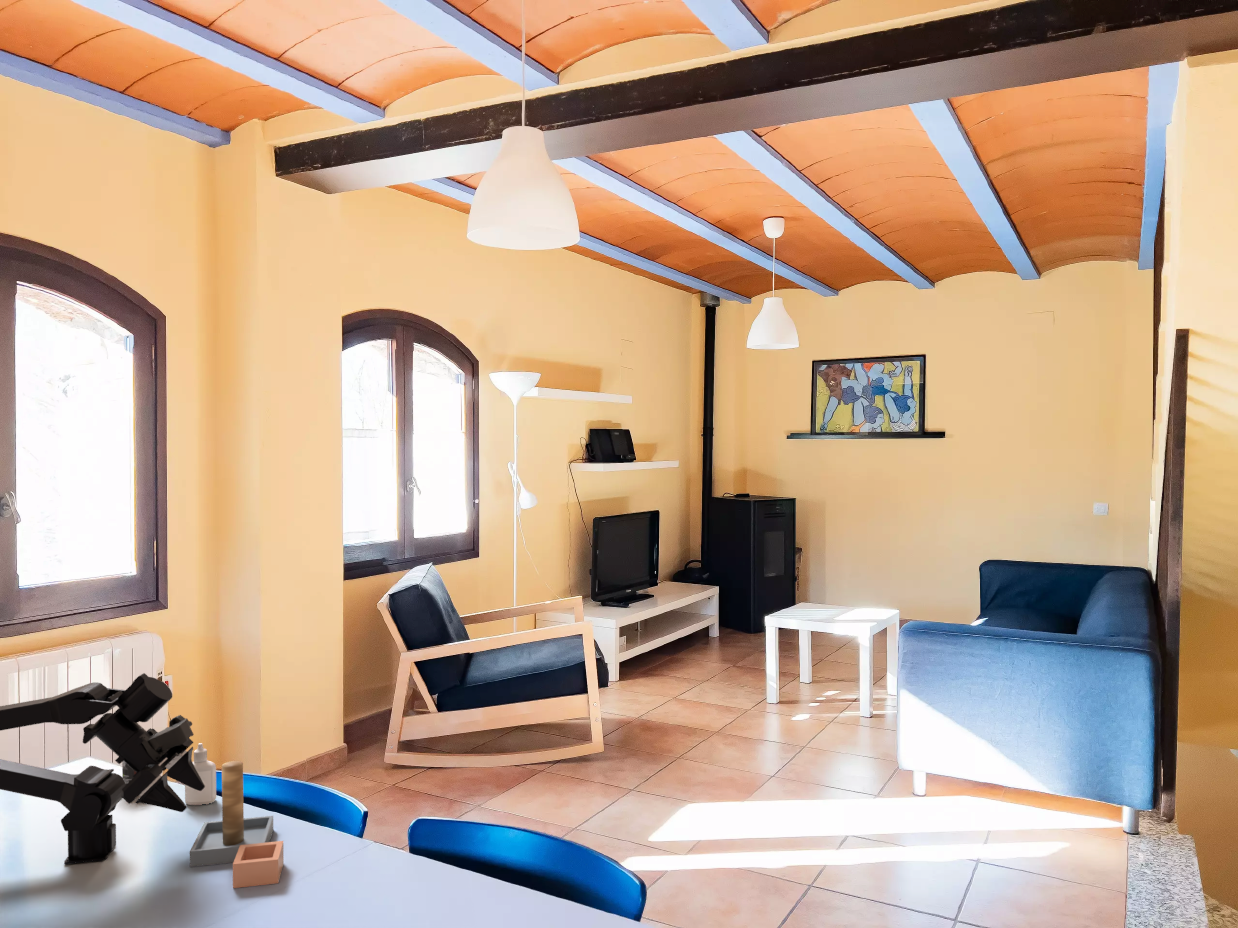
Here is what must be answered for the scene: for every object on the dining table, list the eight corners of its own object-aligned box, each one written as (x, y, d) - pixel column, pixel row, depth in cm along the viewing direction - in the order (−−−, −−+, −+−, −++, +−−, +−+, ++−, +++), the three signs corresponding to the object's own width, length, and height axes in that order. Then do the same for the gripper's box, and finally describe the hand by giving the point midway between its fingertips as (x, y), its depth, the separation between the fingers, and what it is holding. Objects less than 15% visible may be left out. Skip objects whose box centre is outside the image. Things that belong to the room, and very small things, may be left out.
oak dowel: (224, 847, 156) (223, 769, 156) (221, 839, 159) (220, 763, 159) (245, 842, 158) (244, 765, 158) (241, 834, 161) (240, 759, 161)
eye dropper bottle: (201, 808, 176) (200, 749, 175) (181, 803, 178) (181, 744, 178) (219, 800, 180) (219, 742, 179) (200, 795, 182) (199, 738, 182)
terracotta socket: (232, 888, 145) (232, 864, 144) (240, 867, 151) (240, 844, 151) (278, 882, 146) (278, 859, 146) (283, 863, 153) (283, 840, 153)
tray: (189, 866, 152) (189, 851, 152) (204, 836, 163) (204, 822, 163) (264, 858, 155) (264, 843, 155) (273, 829, 166) (273, 815, 166)
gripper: (140, 724, 148) (209, 786, 149) (181, 692, 166) (242, 748, 168) (90, 772, 147) (160, 834, 148) (137, 735, 165) (199, 790, 167)
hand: (194, 798), depth 158 cm, fingers open, 9 cm apart
